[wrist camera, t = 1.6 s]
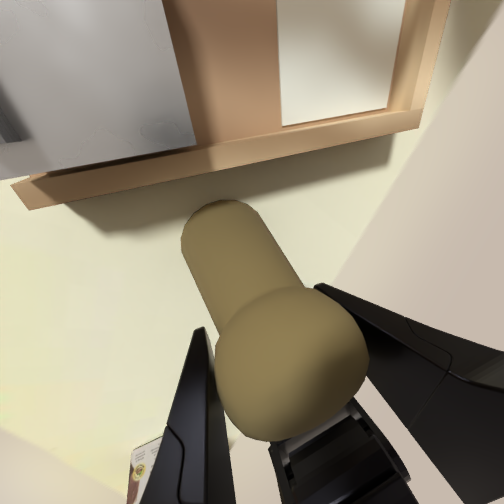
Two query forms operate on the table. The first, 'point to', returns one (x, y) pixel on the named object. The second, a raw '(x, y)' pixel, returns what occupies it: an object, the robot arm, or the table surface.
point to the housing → (275, 86)
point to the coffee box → (141, 469)
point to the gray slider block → (87, 84)
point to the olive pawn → (270, 328)
